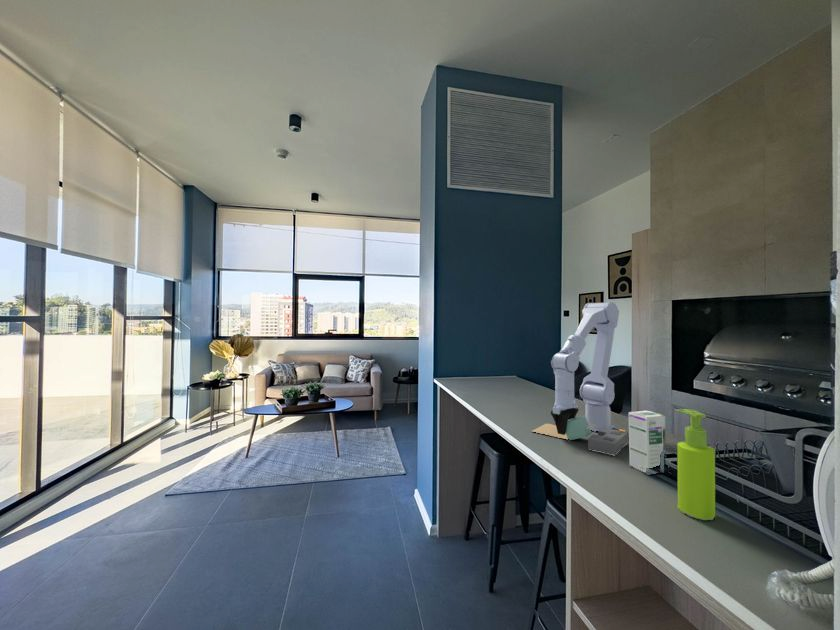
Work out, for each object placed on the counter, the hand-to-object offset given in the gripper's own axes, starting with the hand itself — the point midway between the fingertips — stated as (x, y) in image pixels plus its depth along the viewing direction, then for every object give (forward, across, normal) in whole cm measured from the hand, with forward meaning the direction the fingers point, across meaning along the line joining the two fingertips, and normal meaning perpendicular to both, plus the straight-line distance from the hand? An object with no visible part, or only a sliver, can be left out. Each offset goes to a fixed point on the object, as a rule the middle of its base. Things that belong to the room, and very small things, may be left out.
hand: (564, 432), depth 115 cm
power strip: (+2, 0, -13) cm, 13 cm away
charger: (0, 0, -6) cm, 6 cm away
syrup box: (+2, -11, -25) cm, 27 cm away
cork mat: (+2, +3, +4) cm, 5 cm away
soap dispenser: (+2, -27, -36) cm, 45 cm away
